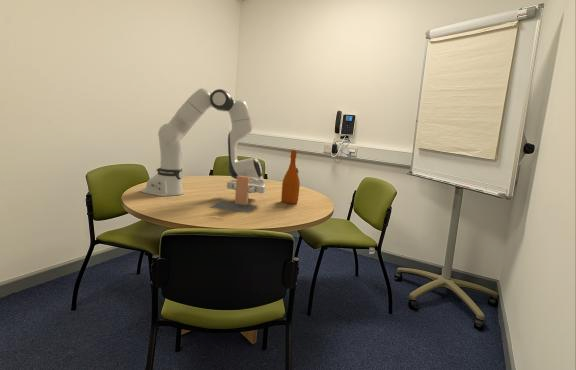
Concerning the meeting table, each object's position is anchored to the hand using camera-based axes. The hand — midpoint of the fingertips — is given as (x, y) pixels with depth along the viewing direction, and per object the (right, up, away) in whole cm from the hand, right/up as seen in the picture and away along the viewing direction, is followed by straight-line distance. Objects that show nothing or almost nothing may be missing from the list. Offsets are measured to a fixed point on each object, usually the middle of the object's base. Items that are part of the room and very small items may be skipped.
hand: (241, 189), depth 177 cm
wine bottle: (+24, -8, +24) cm, 35 cm away
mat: (-4, -9, +2) cm, 11 cm away
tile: (-1, -7, +2) cm, 8 cm away
